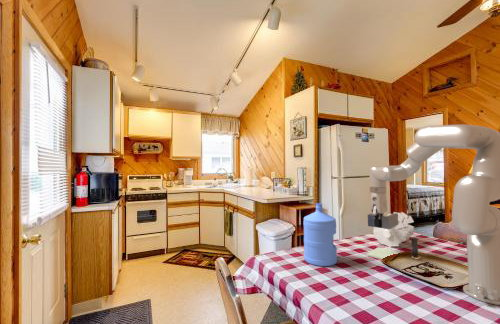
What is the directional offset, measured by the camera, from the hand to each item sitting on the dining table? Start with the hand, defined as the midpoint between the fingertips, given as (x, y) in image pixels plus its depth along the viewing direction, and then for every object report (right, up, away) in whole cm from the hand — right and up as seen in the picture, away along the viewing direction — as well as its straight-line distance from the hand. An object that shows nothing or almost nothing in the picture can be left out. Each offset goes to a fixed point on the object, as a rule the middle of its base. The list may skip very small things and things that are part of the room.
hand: (379, 226), depth 122 cm
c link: (+4, -1, +4) cm, 6 cm away
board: (+4, -16, +3) cm, 16 cm away
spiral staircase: (+21, -16, +21) cm, 34 cm away
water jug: (-31, -16, -5) cm, 36 cm away
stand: (+17, -15, -3) cm, 23 cm away
